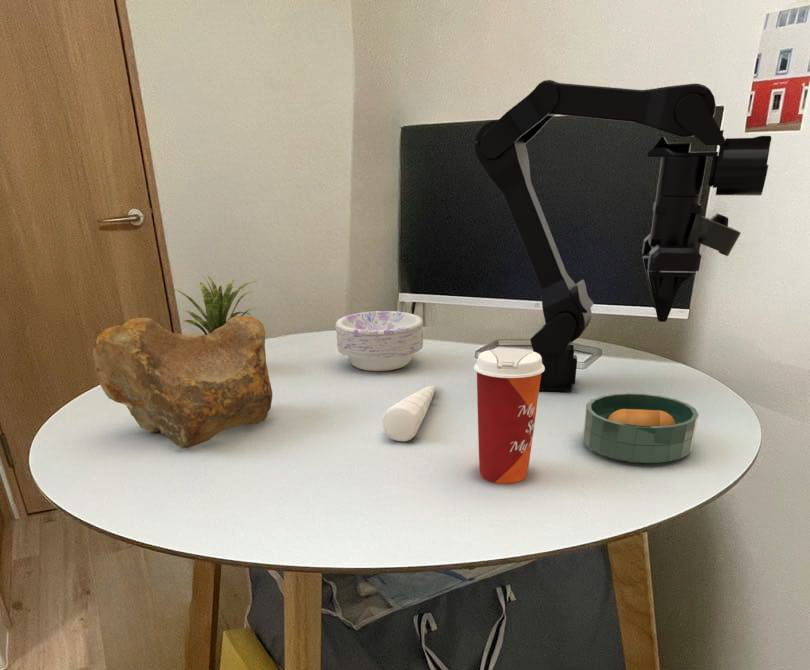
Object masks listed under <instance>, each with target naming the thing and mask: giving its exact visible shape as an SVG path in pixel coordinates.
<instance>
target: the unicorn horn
mask: <svg viewBox="0 0 810 670" xmlns="http://www.w3.org/2000/svg"><path fill="white" fill-rule="evenodd" d="M436 387H437V386H436V385H435V384H431V385H428V386H426V387H424V388H422V389H420V390H418V391H416V392H414V393H412V394H410V395H409V396H407V397H405V398H403V399H402V400H400V401H398V402H397V403H395V404H393V405H392V406H390V407H389V408H388V409H387V410H386V411H385V413H384V415H383V417H382V428H383V431H384V434H385V435H386V436H387V437H388V438H389V439H391V440H394V441H396V442H404V443H405V442H408V441H411V440H412V439H413V438H414V437H415V436H416V435H417V434H418V431H419V429H420V427H421V424H422V423H423V420H424V419H425V416H426V414H427V412H428V410H429V407H430V406H431V404H432V401H433V399H434V395H435V393H436Z"/></svg>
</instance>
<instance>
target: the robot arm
mask: <svg viewBox="0 0 810 670" xmlns="http://www.w3.org/2000/svg"><path fill="white" fill-rule="evenodd" d="M716 108H717V105H716V99H715V96H714V94H713V92H712V90H711V89H710V88H709V87H707V86H706V85H704V84H701V83H687V84H686V83H685V84H677V85H669V86H661V87H656V88H647V89H633V88H621V87H611V86H599V85H598V86H597V85H587V84H576V83H575V84H574V83H563V82H558V81H555V80H553V79H547V80H543V81H541V82H539V83H538V84H537V85H536V87H535V88H534V89H533V90H532V91H531V92H530V93H529V94H527V96H525V97H524V98H523V99H522V100H519V102H517V103H516V104H515V105H514V106H512V107H511V108H510V109H509V110H507V111H506V112H505V113H504V114H503V115H502V116H501V117H500V118H499V119H498V120H490V121H487V122H486V123H485V124H483V125H482V126H481V127H480V128H479V130H478V131H477V133H476V136H475V139H474V142H473V151H474V155H475V157H476V159H477V161H478V162H479V164H480V166H481V167H482V169H483V170H484V172H485V174H486V176H487V177H488V178H489V179H490V181H491V182H492V183H493V185H494V186H495V187H496V188H497V189H498V191H499V192H500V193H501V194H502V196H503V198H504V201H505V203H506V205H507V207H508V208H507V209H508V211H509V214H510V216H511V217H512V220H513V224H514V226H515V227H516V230H517V232H518V236H519V238H520V239H521V243H522V245H523V248H524V250H525V252H526V256H527V257H528V260H529V262H530V265H531V267H532V270H533V273H534V275H535V277H536V280H537V282H538V284H539V288H540V296H541V306H542V313H543V317H544V322H545V324H544V325H543V326H542V327H541V328H539V330H537V331H536V333H535V334H534V335H533V336H532V337H531V338H530V345H531V348H532V351H533V352H536V353H538V354H540V356H541V358H542V364H543V365H544V367H545V370H544V372H542V373H541V380H540V387H539V391H547V392H572V389H573V386H574V385H576V379H577V378H576V376H577V367H578V355H577V354H575V345H574V344H572V343H573V342H574V341H576V340H577V339H579V338H580V337H581V336H582V334H583V333H584V332H585V330H586V329H587V328H588V326H589V324H590V323H591V320H592V317H593V316H592V315H593V314H592V313H593V312H592V307H593V305H594V304H595V303H594V301H593V300H592V299H591V298H590V296H589V295H588V291H587V285H586V282H585V280H584V279H581V280H580V281H578V282H577V283H575V281H574V280H573V279H572V278H571V277H570V275H569V273H568V272H567V270H566V268H565V265H564V263H563V260H562V258H561V255H560V252H559V249H558V247H557V244H556V243H555V240H554V237H553V235H552V232H551V229H550V226H549V224H548V222H547V219H546V217H545V214H544V212H543V211H544V210H543V209H542V206H541V204H540V202H539V199H538V196H537V193H536V191H535V189H534V186H533V184H532V183H533V182H532V179H531V169H530V168H531V167H530V157H529V153H528V148H527V144H528V143H529V142H530V141H531V140H532V139H533V138H534V137H535V136H536V135H537V134H538V133H539V132H540V131H541V130H542V129H543V128H544V127H545V126H546V124H548V123H549V121H550V120H551V119H552V118H554V117H555V116H566V117H576V118H586V119H597V120H598V119H599V120H608V121H619V122H626V123H627V122H628V123H637V124H640V125H643V126H646V127H649V128H652V129H656V130H659V131H662V132H665V133H668V134H672V135H674V136H678V137H680V138H681V137H682V138H692V137H694V138H696V139H697V140H699V142H701V143H702V144H704V146H719V149H718V151H691V150H692V149H691V147H692V142H668V140H667V138H666V137H665V136H660V137H659V139H658V141H657V142H656V143H655V145H654V146H653V147H652V148H650V149H649V150H648V151H647V152H646V157H647V158H660V165H659V172H658V179H657V187H656V193H655V200H654V202H653V204H652V212H653V213H652V220H651V228H650V233H649V234H648V235H647V236H645V238H644V239H643V242H642V250H641V253H642V261H643V266H644V271H645V275H646V280H647V284H648V289H649V293H650V297H651V302H652V308H653V309H654V310H655V312H656V314H655V315H656V318H657V321H658V322H660V323H665V322H667V320H668V318H669V316H670V314H671V311H672V308H673V306H674V303H675V301H676V298H677V295H678V293H679V291H680V289H681V286H682V285H683V284H684V283H685V282H687V281H688V280H689V279H691V278H693V277H695V276H696V274H697V272H699V271H700V266H701V262H702V261H701V260H702V255H701V253H700V251H698V250H697V248H698V244H701V245H703V246H705V247H708V248H710V249H713V250H715V251H718V253H719V254H721V255H723V256H725V257H728V256H729V255H730V253H731V252H732V250H733V248H734V246H735V244H736V242H737V241H738V239H739V237H740V236H741V232H740V231H739V230H737V229H736V228H734V227H730V226H729V217H727V216H724V215H723V214H720V213H718V212H716V213H715V214H714V215H713V216H712V217H711V218H709V217H705V216H703V214H704V213H703V212H704V207H703V206H702V204H700V202H701V197H702V191H703V187H704V186H703V185H704V180H705V179H704V178H705V174H706V168H707V162H708V158H709V157H712V161H711V166H710V171H709V178H708V184H707V187H708V188H713V189H716V190H715V196H757V197H758V196H759V197H760V196H762V194H763V191H764V187H765V183H766V179H767V175H768V170H769V164H768V160H769V155H770V148H771V144H772V143H771V142H772V136H771V135H759V136H754V137H731V138H729V137H728V138H725V136H724V131H725V130H724V129H720V128H719V125H718V124H717V122H716V119H715V118H714V117H715V115H716Z"/></svg>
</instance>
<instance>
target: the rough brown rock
mask: <svg viewBox="0 0 810 670" xmlns="http://www.w3.org/2000/svg"><path fill="white" fill-rule="evenodd" d="M229 318H230V317H229ZM229 318H228V319H229ZM228 319H227V320H228ZM207 334H208V333H207ZM96 337H97V338H96V342H95V346H94V348H93V349H92V353H93V354H92V355H93V358H94V367H95V368H94V371H95V375H96V377H97V379H98V383H99V385H100V387H101V389H102V391H103V392H104V394H105V395H106V397H107V398H108V399H109V400H112V401H113V402H115V403H118V404H121V405H124V406H126V409H128V411H129V413H130V415H131V416H132V417H133V418H134V420H135V422H136V423H137V424H138V426H139V427H140V428H141V429H144V430H146V431H149V432H155V433H156V432H160V434H161V435H164V436H167V437H168V439H169V440H170V441H172V442H173V443H174V445H176V446H178V447H179V448H181V449H189V448H192V447H194V446H196V445H197V446H198V445H199V444H203V443H205V442H207V441H210V440H211V439H212V438H213V437H215V436H217V435H219V434H220V433H222V432H223V431H225V430H226V431H227V430H229V429H231V428H234V427H238V426H251V425H258V424H260V423H263V422H265V419H266V418H267V416H268V413H269V411H270V410H271V407H272V403H273V397H274V396H273V395H274V394H273V389H272V385H271V384H272V383H271V379H270V376H269V375H270V374H269V370H268V363H267V353H266V330H265V326H264V323H262V322H261V321H260V320H259V319H258V318H256V317H253V316H252V317H251V315H244V316H241V315H239V316H238V315H236V316H235V317H232V318H230V319H229V320H228V322H227V323H226V324H224V325H223V326H222V327H220V328H218V329H216V330H214V331H213V332H212V333H210V334H208V335H204V334H199V333H187V334H183V333H182V334H181V333H177V332H172V331H170V330H167V329H165V328H164V327H162V325H160V324H159V323H158V322H157V321H156V320H154V319H152V318H150V317H137V318H136V317H135V318H132V319H129V320H128V321H126V322H125V323H124V324H123V325H121V324H118V325H114V326H111V327H107V328H105V329H104V330H103V331H102V332H101V333H99V335H98V336H96Z"/></svg>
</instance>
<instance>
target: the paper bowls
mask: <svg viewBox="0 0 810 670" xmlns="http://www.w3.org/2000/svg"><path fill="white" fill-rule="evenodd" d="M423 326H424V322H423V318H421V316H420V315H417V314H414V313H411V312H405V311H396V310H394V311H393V310H379V311H376V310H375V311H363V312H358V313H357V312H356V313H352V314H347V315H343V316H342V317H340V318H339V319H337V320H336V323H335V331H336V346H337V347H336V348H337V351H338V353H339V354H341V355H342V356H346V357H347V358H348V359H349V361H350V363H351V364H352V366H354V367H355V368H357V369H360V370H364V371H367V372H387V371H394V370H398V369H401V368H404V367H406V366H407V365H408V364H409V363H410V361H411V360H412V358H413V356H414V354H416V353H418V352H420V351H421V350H423V348H424V327H423Z"/></svg>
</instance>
